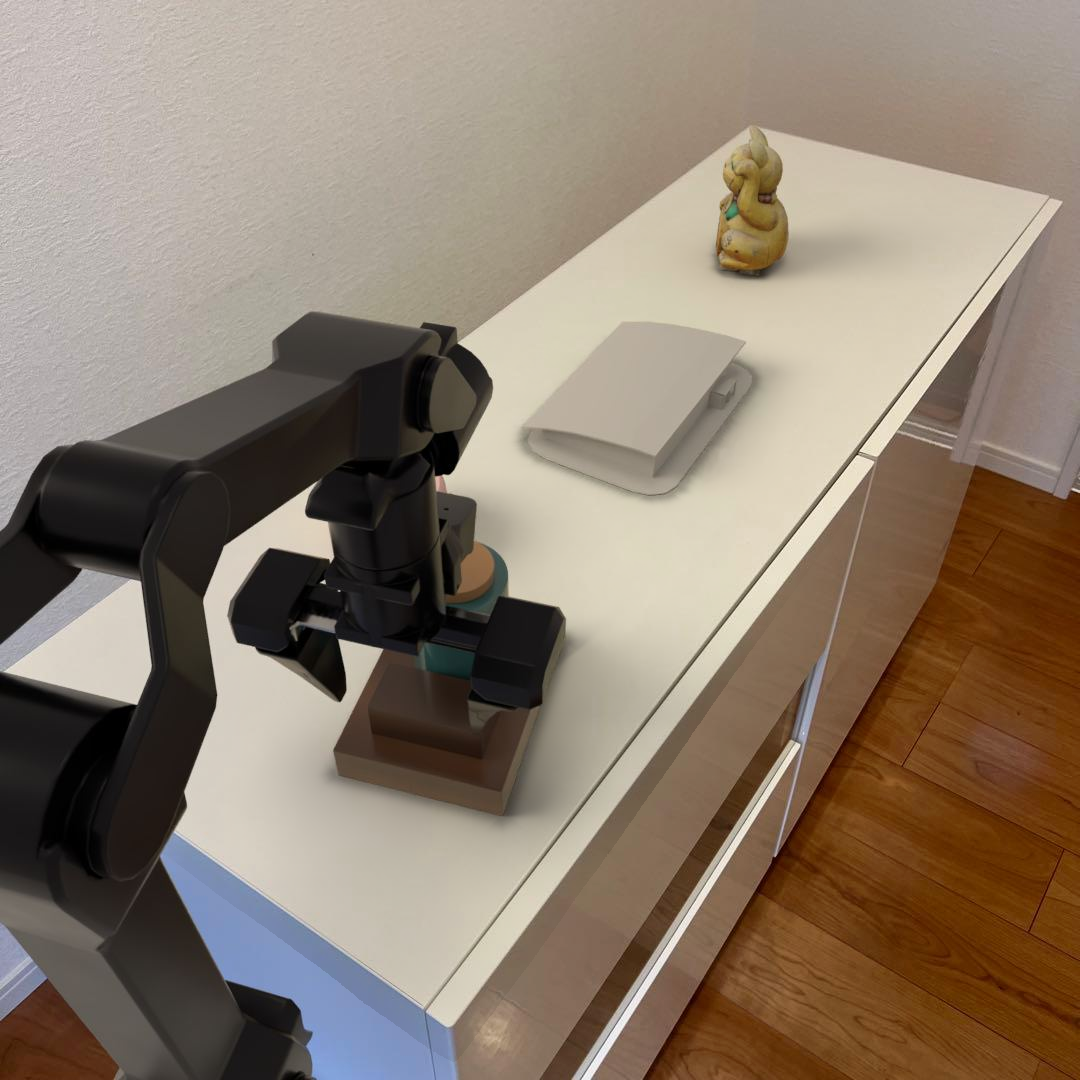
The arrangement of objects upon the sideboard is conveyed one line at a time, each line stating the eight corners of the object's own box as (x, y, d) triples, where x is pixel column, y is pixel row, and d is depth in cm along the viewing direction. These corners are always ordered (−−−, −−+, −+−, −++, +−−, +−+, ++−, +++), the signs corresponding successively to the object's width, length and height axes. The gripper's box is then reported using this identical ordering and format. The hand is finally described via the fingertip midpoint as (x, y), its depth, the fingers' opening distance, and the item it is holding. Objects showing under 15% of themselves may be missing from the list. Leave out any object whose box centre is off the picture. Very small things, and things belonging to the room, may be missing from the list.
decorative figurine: (711, 238, 129) (727, 114, 119) (780, 242, 129) (802, 118, 118) (712, 280, 122) (729, 153, 112) (786, 284, 122) (809, 156, 111)
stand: (502, 816, 73) (500, 765, 69) (337, 775, 75) (326, 723, 71) (562, 642, 84) (564, 589, 80) (417, 610, 86) (411, 557, 82)
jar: (471, 720, 69) (505, 547, 69) (369, 696, 71) (402, 527, 70) (509, 700, 80) (538, 551, 80) (420, 680, 82) (449, 533, 82)
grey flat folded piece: (761, 372, 110) (766, 339, 107) (663, 503, 95) (667, 469, 93) (626, 329, 115) (628, 297, 112) (515, 447, 101) (514, 414, 98)
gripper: (593, 468, 61) (584, 648, 71) (288, 413, 64) (324, 592, 75) (540, 610, 53) (538, 787, 64) (197, 538, 56) (251, 717, 67)
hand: (409, 712), depth 68 cm, fingers open, 9 cm apart
